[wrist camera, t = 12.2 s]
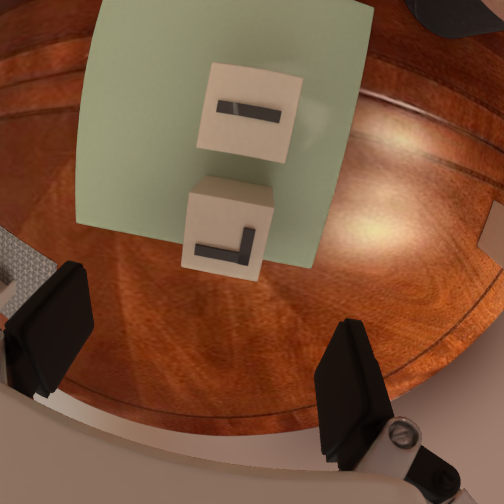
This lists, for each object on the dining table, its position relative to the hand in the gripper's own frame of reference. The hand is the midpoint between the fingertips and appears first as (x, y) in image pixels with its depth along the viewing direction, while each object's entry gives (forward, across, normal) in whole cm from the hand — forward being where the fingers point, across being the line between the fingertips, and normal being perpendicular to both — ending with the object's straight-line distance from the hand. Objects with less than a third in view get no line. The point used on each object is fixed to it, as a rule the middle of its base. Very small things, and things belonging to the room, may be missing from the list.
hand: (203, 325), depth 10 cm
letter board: (+14, +4, -7) cm, 16 cm away
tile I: (+14, 0, -7) cm, 15 cm away
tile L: (+13, 0, +1) cm, 13 cm away
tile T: (+15, -26, -4) cm, 30 cm away
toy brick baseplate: (+14, +30, +14) cm, 36 cm away
